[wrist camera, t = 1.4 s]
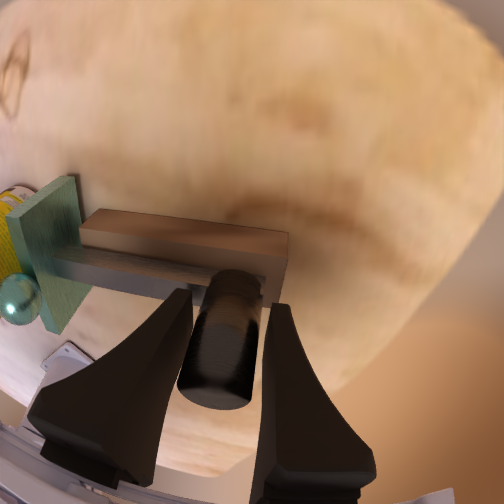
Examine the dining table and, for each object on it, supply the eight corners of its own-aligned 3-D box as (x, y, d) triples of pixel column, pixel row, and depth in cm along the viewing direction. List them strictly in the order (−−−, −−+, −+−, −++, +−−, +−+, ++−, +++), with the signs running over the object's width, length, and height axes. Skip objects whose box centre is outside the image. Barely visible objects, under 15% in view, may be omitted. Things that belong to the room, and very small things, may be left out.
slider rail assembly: (277, 196, 13) (267, 325, 7) (258, 312, 17) (242, 437, 11) (51, 175, 14) (-48, 252, 7) (73, 278, 17) (12, 366, 11)
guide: (287, 232, 15) (288, 257, 13) (278, 281, 16) (277, 309, 15) (98, 208, 15) (78, 227, 13) (106, 254, 17) (89, 276, 15)
